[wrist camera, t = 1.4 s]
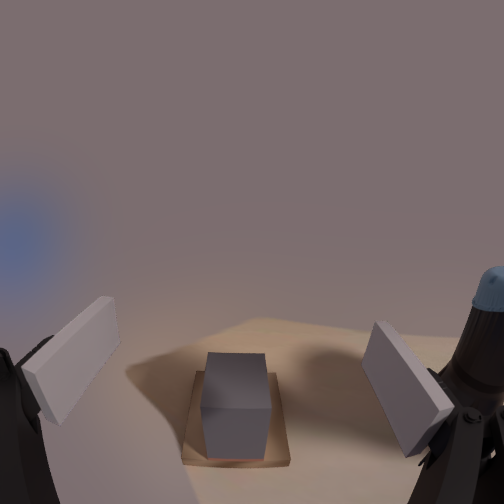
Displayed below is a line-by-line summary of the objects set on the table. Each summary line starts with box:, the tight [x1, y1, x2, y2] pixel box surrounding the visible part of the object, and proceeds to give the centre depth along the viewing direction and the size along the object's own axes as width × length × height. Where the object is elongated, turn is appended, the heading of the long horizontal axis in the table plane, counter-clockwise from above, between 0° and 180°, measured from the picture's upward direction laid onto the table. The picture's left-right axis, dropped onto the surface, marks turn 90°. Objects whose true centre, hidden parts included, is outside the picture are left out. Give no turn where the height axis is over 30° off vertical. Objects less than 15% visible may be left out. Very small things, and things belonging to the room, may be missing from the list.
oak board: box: [181, 371, 291, 468], centre depth 31 cm, size 12×16×2 cm
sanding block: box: [200, 352, 272, 461], centre depth 25 cm, size 6×8×10 cm
